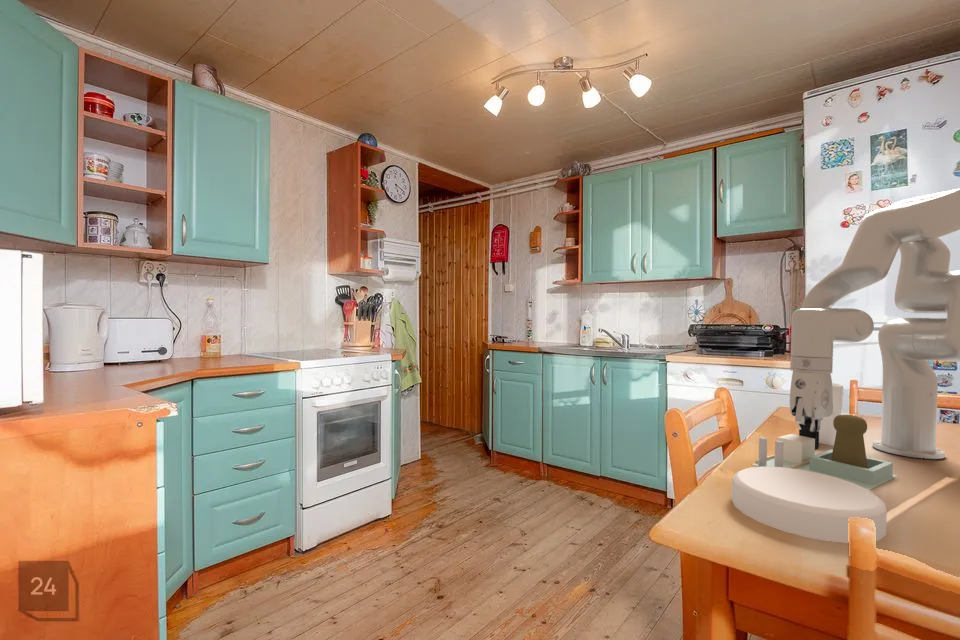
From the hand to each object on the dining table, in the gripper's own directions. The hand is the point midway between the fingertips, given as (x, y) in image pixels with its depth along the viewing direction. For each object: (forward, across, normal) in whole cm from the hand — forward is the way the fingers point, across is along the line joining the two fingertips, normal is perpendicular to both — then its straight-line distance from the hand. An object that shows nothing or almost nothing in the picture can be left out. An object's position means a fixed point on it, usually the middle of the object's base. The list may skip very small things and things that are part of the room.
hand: (808, 448), depth 101 cm
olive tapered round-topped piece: (+2, -6, -9) cm, 11 cm away
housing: (+2, -6, 0) cm, 6 cm away
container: (+3, -32, -12) cm, 34 cm away
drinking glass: (+3, +19, +4) cm, 20 cm away
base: (+3, -9, -6) cm, 11 cm away
